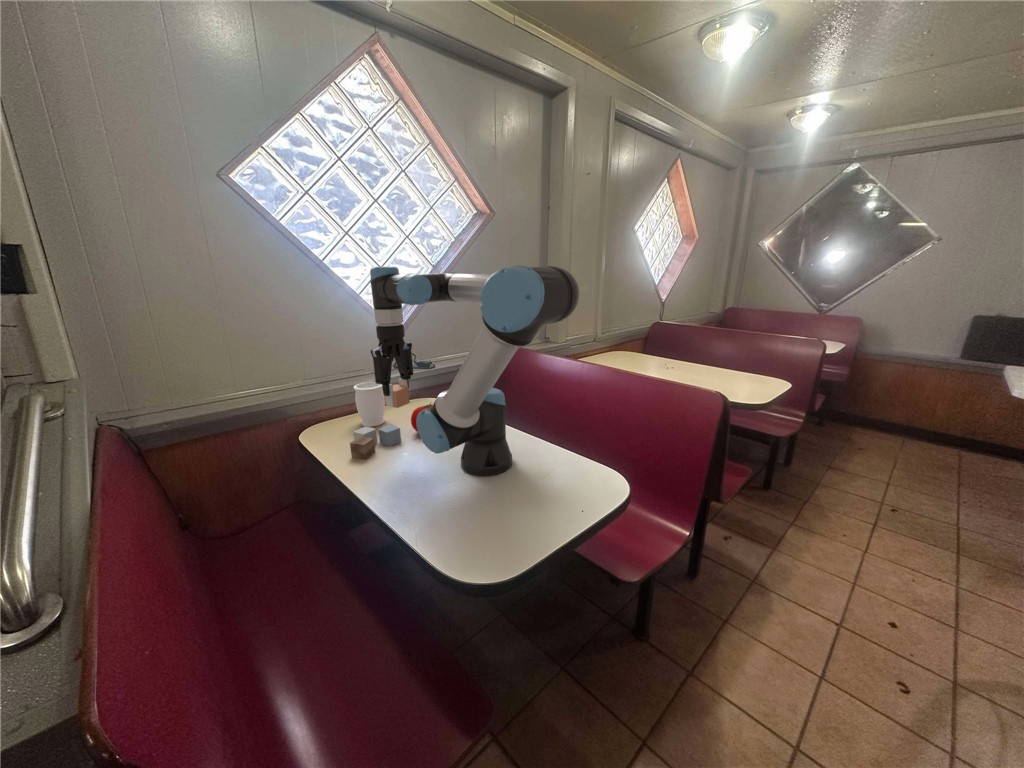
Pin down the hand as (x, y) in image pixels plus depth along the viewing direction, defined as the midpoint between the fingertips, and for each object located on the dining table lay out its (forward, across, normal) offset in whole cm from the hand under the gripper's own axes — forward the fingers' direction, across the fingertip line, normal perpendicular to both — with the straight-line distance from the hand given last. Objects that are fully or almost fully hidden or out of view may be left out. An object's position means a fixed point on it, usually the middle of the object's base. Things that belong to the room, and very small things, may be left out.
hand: (397, 402), depth 117 cm
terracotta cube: (0, 0, 0) cm, 0 cm away
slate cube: (+18, -6, -12) cm, 22 cm away
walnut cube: (+18, +5, -12) cm, 22 cm away
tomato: (+18, -19, -6) cm, 27 cm away
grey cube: (+18, -1, -18) cm, 25 cm away
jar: (+18, -15, -31) cm, 39 cm away
